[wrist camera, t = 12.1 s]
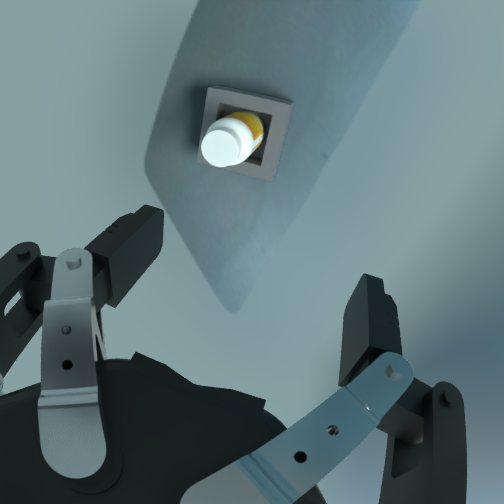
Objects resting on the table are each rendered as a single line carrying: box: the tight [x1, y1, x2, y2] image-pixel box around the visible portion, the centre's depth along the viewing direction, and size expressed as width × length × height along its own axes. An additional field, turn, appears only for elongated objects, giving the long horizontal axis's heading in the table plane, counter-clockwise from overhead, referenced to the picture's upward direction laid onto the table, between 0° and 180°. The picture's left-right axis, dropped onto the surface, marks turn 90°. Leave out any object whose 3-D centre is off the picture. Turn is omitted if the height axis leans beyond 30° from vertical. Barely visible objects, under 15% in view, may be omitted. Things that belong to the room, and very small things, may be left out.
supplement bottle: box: [201, 110, 265, 167], centre depth 34 cm, size 5×5×10 cm
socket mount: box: [197, 85, 294, 182], centre depth 37 cm, size 10×10×4 cm
